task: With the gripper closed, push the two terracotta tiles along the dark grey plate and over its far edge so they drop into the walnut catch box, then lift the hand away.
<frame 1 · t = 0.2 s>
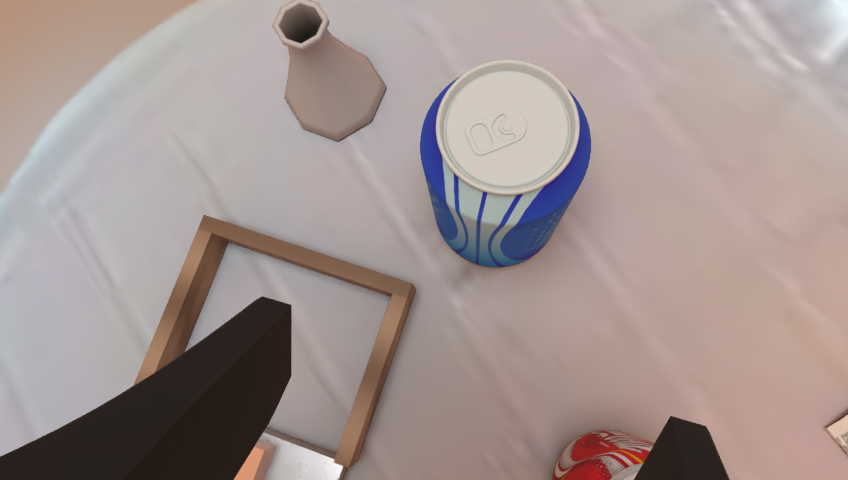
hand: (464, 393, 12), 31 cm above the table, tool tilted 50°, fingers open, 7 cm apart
flask: (336, 95, 48), on the table
catch box: (283, 344, 44), on the table
beer can: (495, 212, 45), on the table
tile 1: (226, 471, 41), point 2 cm above the table, touching grey plate
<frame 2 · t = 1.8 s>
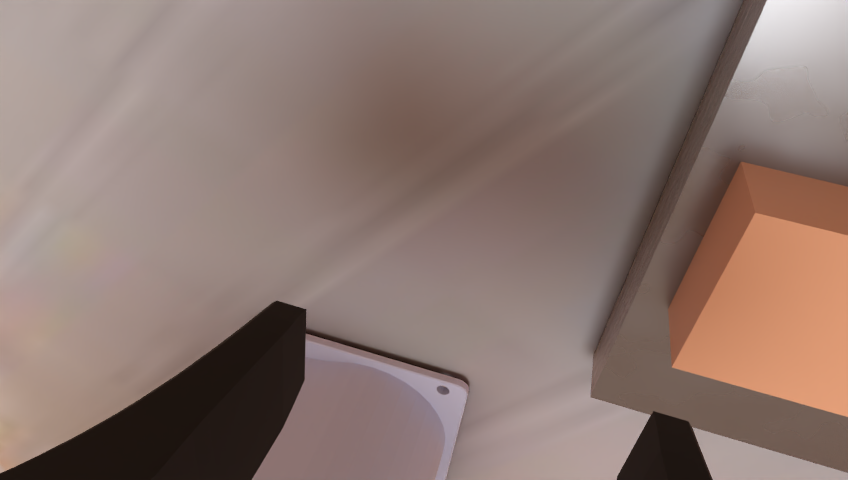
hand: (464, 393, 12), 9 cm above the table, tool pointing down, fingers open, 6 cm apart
tile 2: (797, 265, 17), point 2 cm above the table, touching grey plate
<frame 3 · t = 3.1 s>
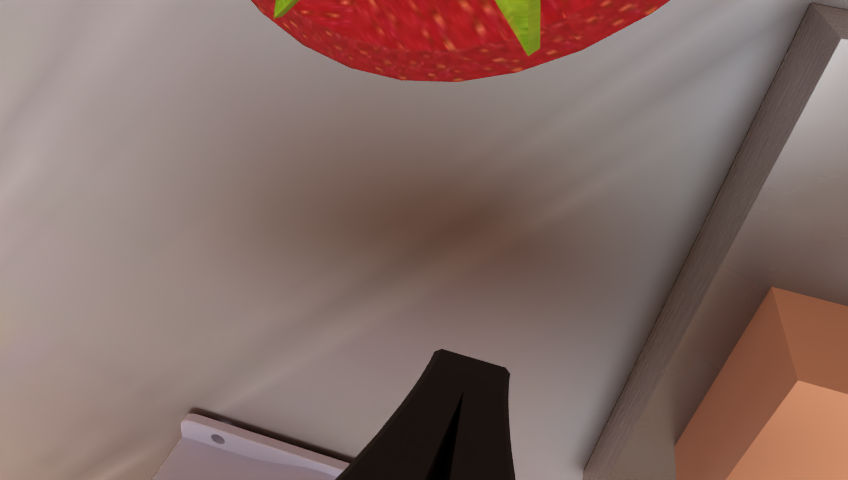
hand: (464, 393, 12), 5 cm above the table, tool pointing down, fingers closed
tile 2: (841, 410, 13), point 2 cm above the table, touching grey plate
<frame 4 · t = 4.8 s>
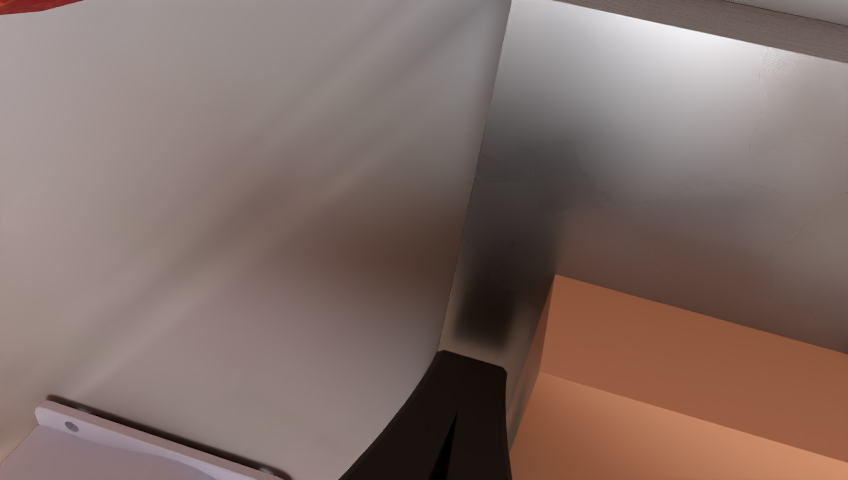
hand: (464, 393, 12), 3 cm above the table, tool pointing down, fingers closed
grey plate: (728, 357, 14), on the table
tile 2: (647, 405, 12), point 2 cm above the table, touching tile 1, grey plate, gripper
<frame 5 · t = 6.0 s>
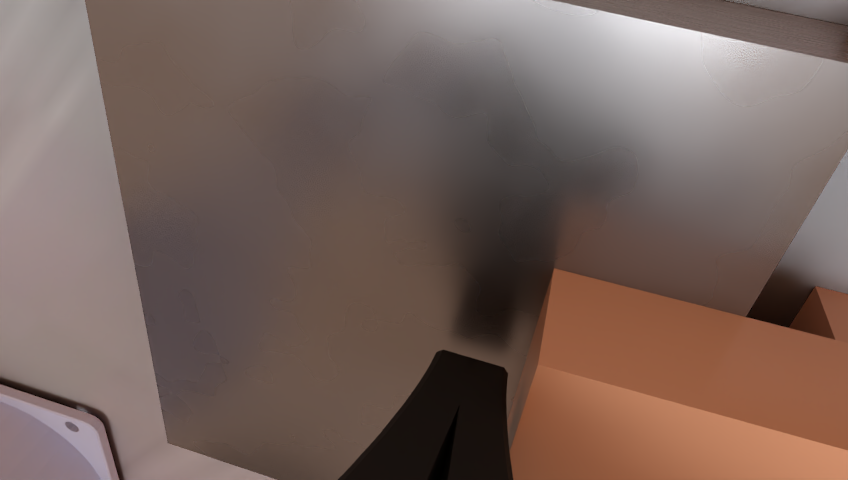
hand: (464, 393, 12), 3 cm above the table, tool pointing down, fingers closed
grey plate: (418, 270, 15), on the table
tile 2: (650, 399, 12), point 2 cm above the table, touching gripper
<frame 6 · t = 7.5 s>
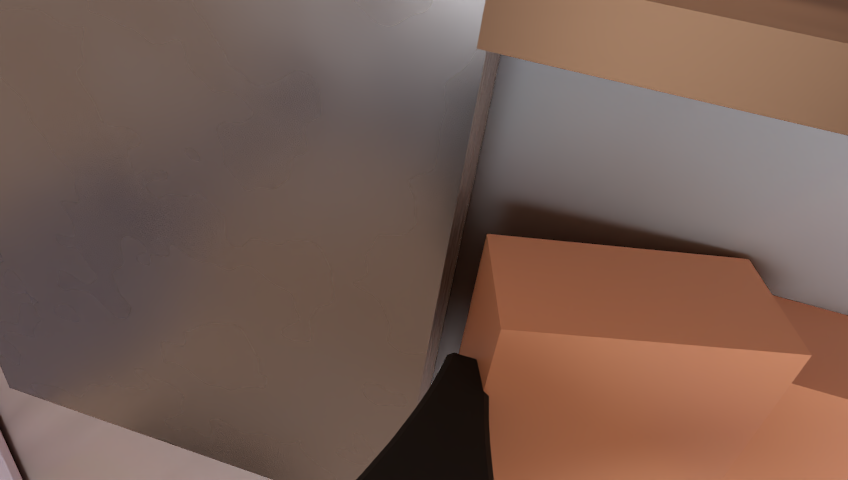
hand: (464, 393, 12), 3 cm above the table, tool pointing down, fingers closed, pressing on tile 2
grey plate: (212, 213, 15), on the table
catch box: (697, 353, 14), on the table
tile 2: (582, 340, 13), point 1 cm above the table, tilted 17°, touching tile 1, gripper
tile 1: (829, 409, 14), on the table, touching catch box, tile 2
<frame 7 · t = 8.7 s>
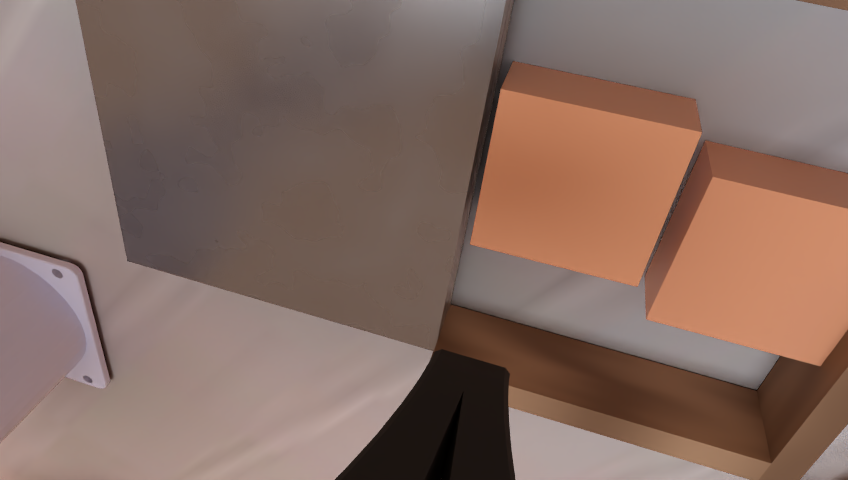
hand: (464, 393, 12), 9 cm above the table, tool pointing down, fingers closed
grey plate: (300, 105, 20), on the table
catch box: (663, 195, 19), on the table
tile 2: (579, 154, 19), on the table
tile 1: (756, 229, 19), on the table
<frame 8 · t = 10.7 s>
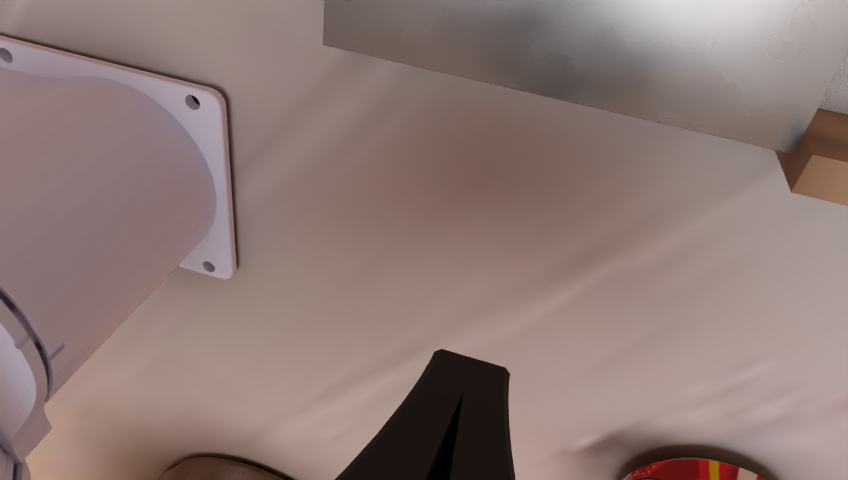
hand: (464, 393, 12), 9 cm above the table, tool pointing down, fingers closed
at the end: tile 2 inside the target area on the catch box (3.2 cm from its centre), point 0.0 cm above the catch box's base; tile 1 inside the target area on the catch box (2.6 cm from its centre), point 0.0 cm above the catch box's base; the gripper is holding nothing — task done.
